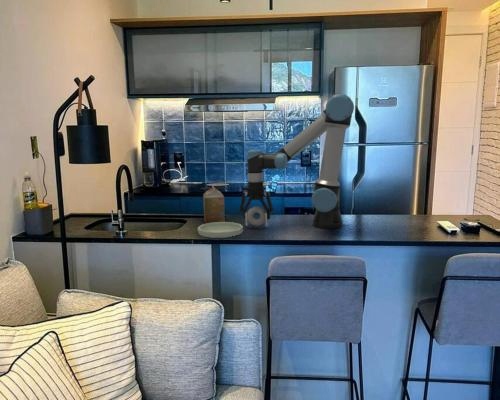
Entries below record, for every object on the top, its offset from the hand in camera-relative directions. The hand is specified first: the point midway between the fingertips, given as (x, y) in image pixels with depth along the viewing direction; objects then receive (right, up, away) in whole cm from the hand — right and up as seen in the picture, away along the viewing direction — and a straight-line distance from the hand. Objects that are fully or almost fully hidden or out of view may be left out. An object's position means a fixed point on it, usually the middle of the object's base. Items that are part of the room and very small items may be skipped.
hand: (257, 225), depth 214 cm
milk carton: (-23, +1, +19) cm, 30 cm away
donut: (0, 0, 0) cm, 0 cm away
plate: (-18, -3, -6) cm, 19 cm away
